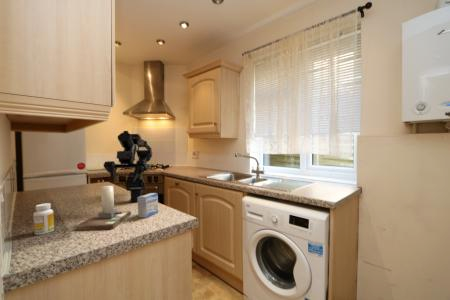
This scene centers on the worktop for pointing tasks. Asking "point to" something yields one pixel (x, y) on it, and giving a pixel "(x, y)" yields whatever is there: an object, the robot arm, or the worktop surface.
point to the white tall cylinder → (107, 202)
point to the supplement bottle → (43, 219)
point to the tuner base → (103, 222)
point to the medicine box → (147, 205)
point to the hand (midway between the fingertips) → (122, 181)
